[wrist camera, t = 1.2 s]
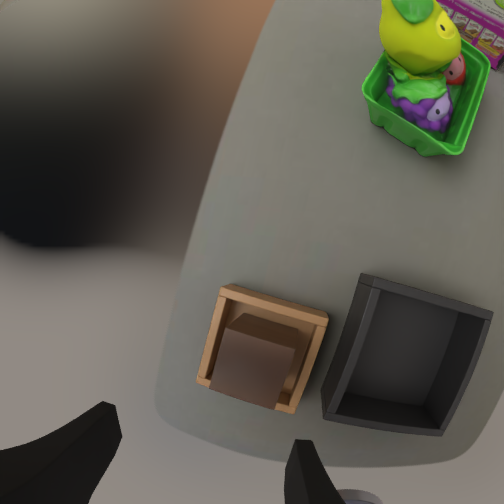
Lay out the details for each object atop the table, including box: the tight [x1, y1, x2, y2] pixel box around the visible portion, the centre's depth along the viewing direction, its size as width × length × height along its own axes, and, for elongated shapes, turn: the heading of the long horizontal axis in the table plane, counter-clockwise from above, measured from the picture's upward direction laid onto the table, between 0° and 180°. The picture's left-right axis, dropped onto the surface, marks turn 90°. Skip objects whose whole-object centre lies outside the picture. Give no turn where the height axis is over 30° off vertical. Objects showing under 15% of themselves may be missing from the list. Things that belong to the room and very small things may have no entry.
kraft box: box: [196, 284, 329, 414], centre depth 20 cm, size 7×7×2 cm
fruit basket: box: [362, 0, 491, 157], centre depth 14 cm, size 11×9×11 cm
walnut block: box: [209, 313, 298, 410], centre depth 18 cm, size 4×4×5 cm
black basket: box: [321, 273, 494, 436], centre depth 17 cm, size 9×9×4 cm
